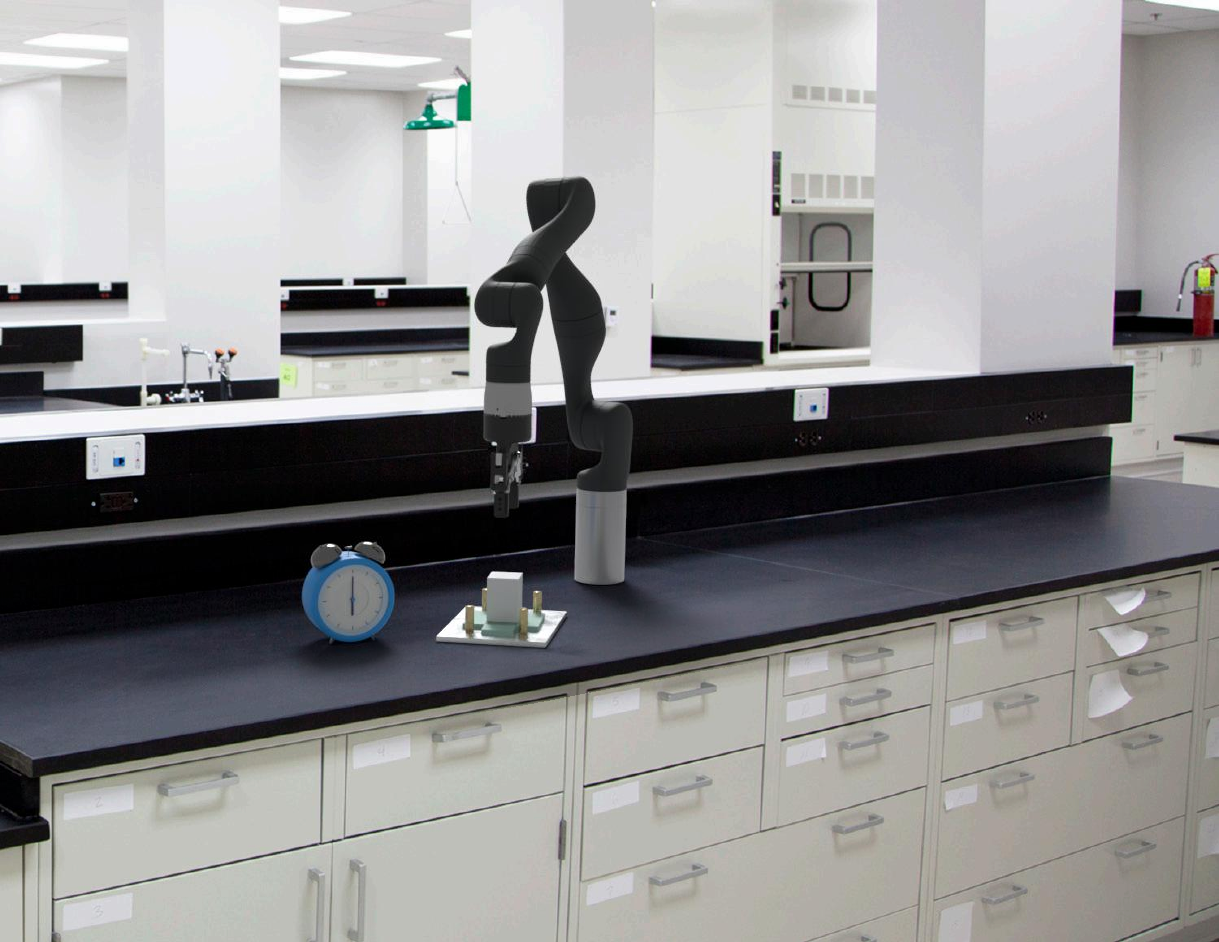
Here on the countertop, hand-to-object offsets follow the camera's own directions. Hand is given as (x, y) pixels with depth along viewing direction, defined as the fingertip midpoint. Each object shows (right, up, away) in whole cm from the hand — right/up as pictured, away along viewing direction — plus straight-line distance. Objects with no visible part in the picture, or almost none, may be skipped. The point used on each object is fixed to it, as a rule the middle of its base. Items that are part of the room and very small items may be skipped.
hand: (506, 512), depth 238 cm
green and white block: (-1, -18, +3) cm, 18 cm away
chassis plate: (-1, -19, +3) cm, 19 cm away
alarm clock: (-24, -19, -6) cm, 31 cm away
